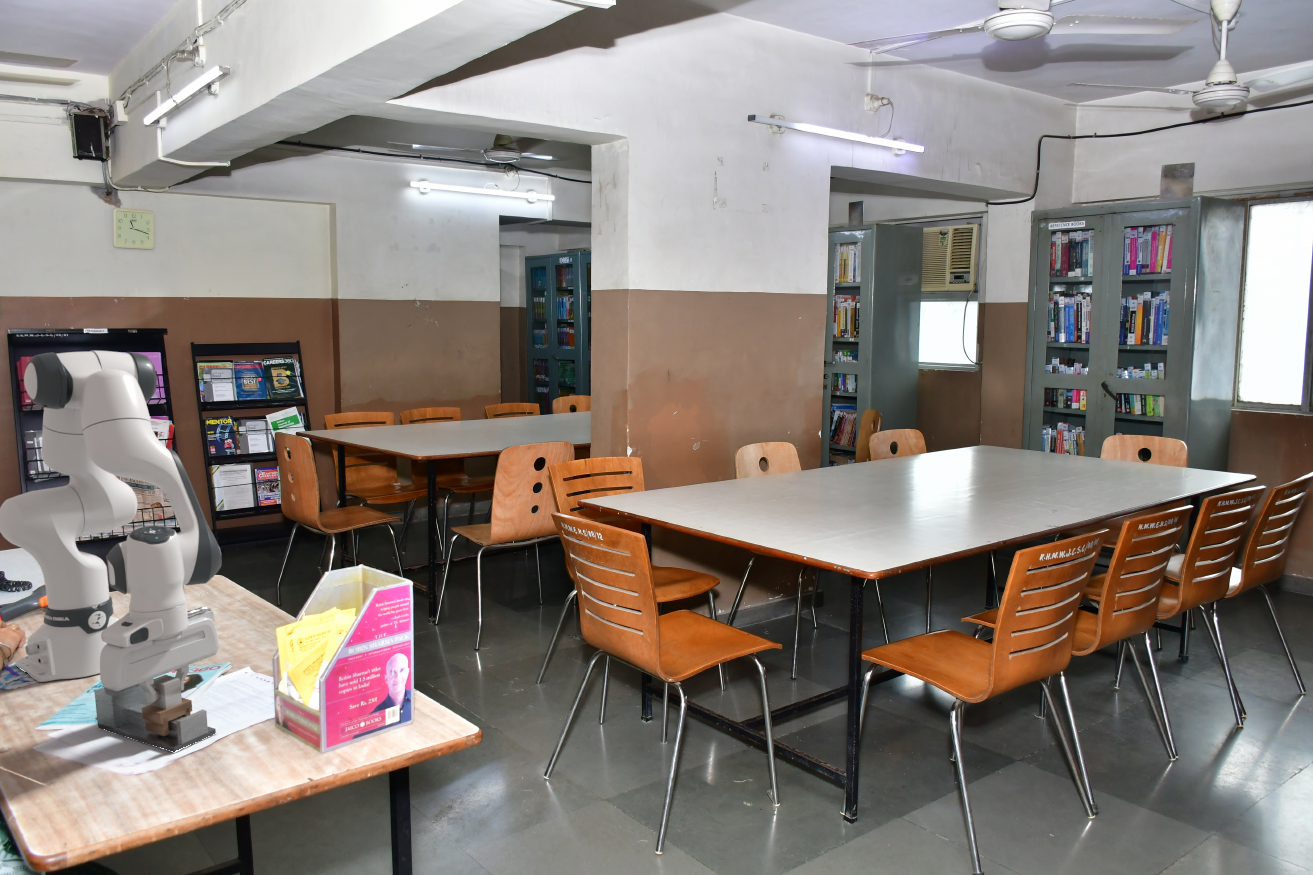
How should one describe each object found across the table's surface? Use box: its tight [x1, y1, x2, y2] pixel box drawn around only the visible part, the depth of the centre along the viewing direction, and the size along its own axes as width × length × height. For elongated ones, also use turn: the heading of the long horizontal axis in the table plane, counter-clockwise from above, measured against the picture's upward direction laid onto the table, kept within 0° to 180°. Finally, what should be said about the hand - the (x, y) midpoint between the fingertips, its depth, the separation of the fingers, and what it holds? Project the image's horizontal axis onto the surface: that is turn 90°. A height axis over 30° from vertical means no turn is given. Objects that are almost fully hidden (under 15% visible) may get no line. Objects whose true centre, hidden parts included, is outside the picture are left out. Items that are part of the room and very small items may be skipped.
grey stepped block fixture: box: [94, 684, 217, 752], centre depth 165 cm, size 21×8×10 cm, turn 62°
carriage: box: [142, 674, 193, 736], centre depth 164 cm, size 5×6×9 cm
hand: (165, 695), depth 164 cm, fingers closed on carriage, 3 cm apart
